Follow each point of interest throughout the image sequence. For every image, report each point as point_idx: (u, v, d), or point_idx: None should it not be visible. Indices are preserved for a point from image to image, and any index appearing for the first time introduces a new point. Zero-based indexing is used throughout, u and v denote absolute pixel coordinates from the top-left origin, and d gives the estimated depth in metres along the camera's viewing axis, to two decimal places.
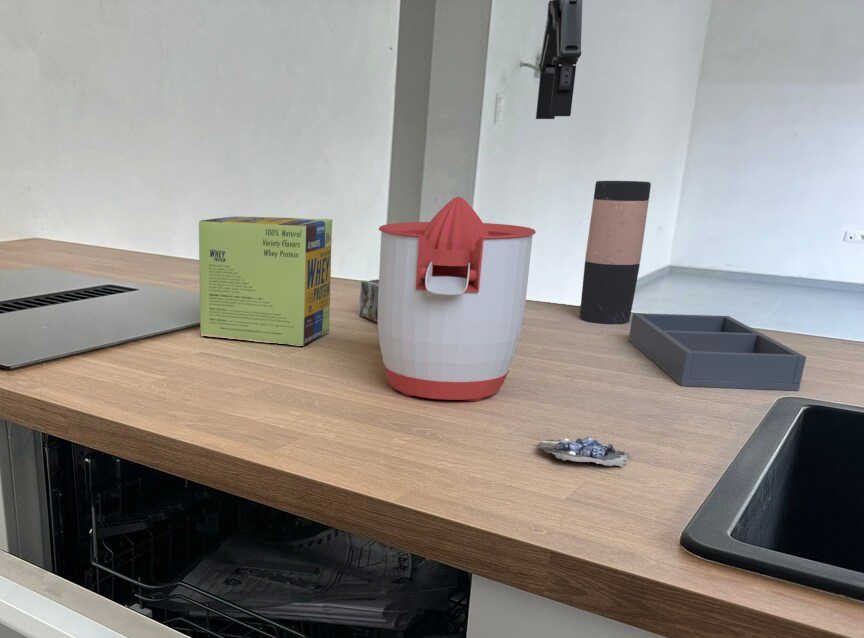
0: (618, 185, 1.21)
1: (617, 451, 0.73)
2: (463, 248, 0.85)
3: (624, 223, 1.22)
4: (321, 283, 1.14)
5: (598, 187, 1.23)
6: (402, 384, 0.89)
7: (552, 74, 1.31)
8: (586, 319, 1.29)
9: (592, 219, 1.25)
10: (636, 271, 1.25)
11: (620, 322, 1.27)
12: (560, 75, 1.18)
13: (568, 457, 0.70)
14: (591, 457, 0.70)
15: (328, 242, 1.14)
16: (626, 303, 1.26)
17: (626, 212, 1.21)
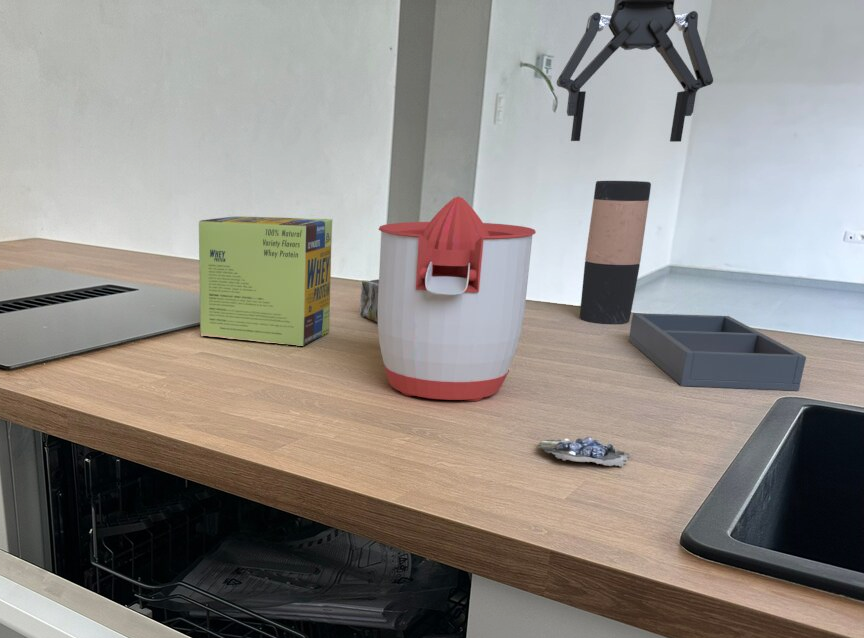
0: (618, 185, 1.21)
1: (617, 451, 0.73)
2: (463, 248, 0.85)
3: (625, 223, 1.22)
4: (321, 283, 1.14)
5: (598, 187, 1.23)
6: (402, 384, 0.89)
7: None
8: (586, 319, 1.29)
9: (592, 219, 1.25)
10: (636, 271, 1.25)
11: (620, 322, 1.27)
12: (690, 101, 1.19)
13: (568, 457, 0.70)
14: (591, 457, 0.70)
15: (328, 242, 1.14)
16: (626, 303, 1.26)
17: (627, 212, 1.21)
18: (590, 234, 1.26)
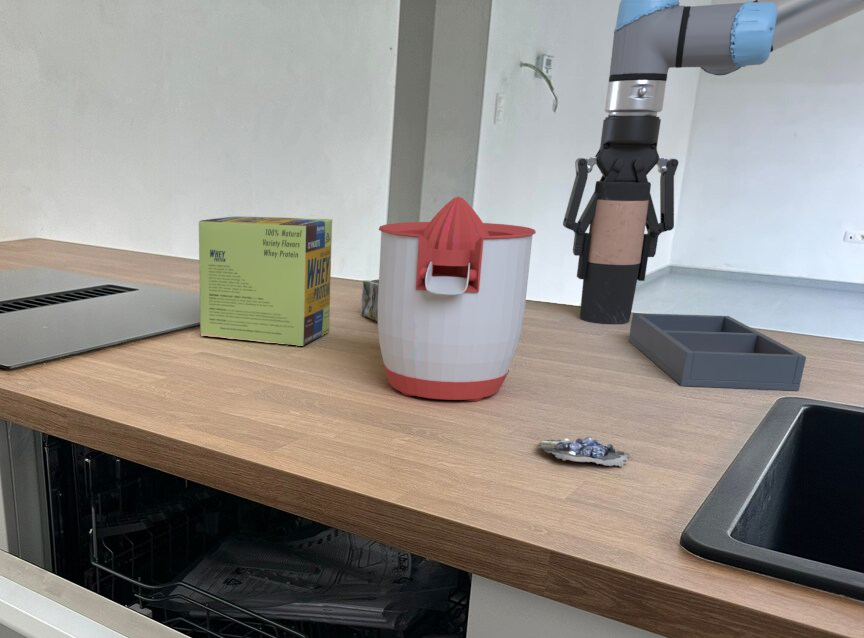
0: (618, 185, 1.21)
1: (617, 451, 0.73)
2: (463, 248, 0.85)
3: (625, 223, 1.22)
4: (321, 283, 1.14)
5: (598, 187, 1.23)
6: (402, 384, 0.89)
7: None
8: (586, 319, 1.29)
9: (592, 219, 1.25)
10: (636, 271, 1.25)
11: (620, 322, 1.27)
12: (652, 244, 1.25)
13: (568, 457, 0.70)
14: (591, 457, 0.70)
15: (328, 242, 1.14)
16: (626, 303, 1.26)
17: (627, 212, 1.21)
18: None
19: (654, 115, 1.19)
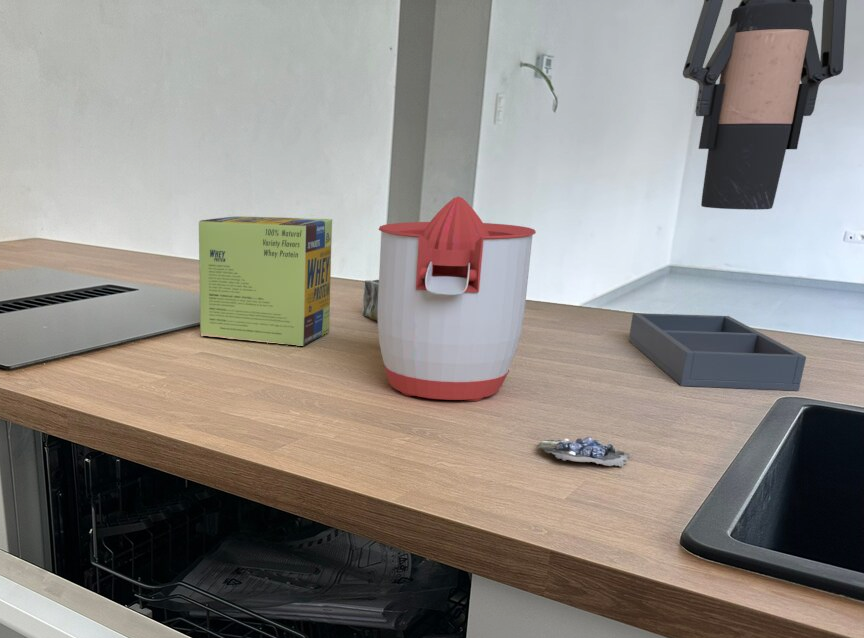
0: (770, 7, 0.86)
1: (617, 451, 0.73)
2: (463, 248, 0.85)
3: (777, 62, 0.87)
4: (321, 282, 1.14)
5: (738, 15, 0.89)
6: (402, 384, 0.89)
7: None
8: (713, 205, 0.94)
9: None
10: (787, 134, 0.91)
11: (762, 207, 0.93)
12: (810, 97, 0.91)
13: (568, 457, 0.70)
14: (591, 457, 0.70)
15: (328, 242, 1.14)
16: (772, 179, 0.92)
17: (780, 46, 0.87)
18: None
19: None
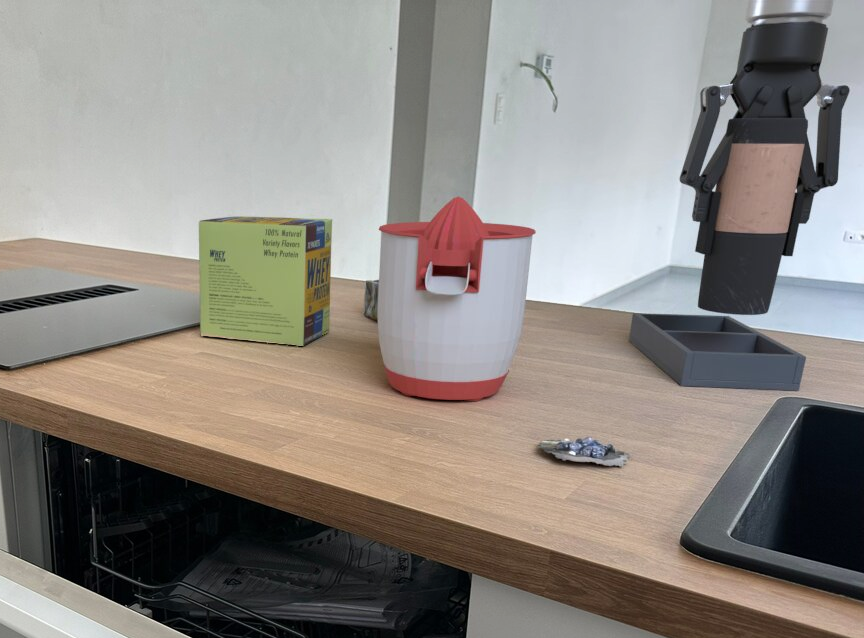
0: (766, 122, 0.87)
1: (617, 451, 0.73)
2: (463, 248, 0.85)
3: (773, 175, 0.88)
4: (321, 282, 1.14)
5: (734, 126, 0.90)
6: (402, 384, 0.89)
7: None
8: (709, 309, 0.95)
9: None
10: (783, 243, 0.92)
11: (758, 313, 0.93)
12: (805, 206, 0.91)
13: (568, 457, 0.70)
14: (591, 457, 0.70)
15: (328, 242, 1.14)
16: (768, 286, 0.92)
17: (776, 160, 0.88)
18: None
19: (820, 22, 0.85)
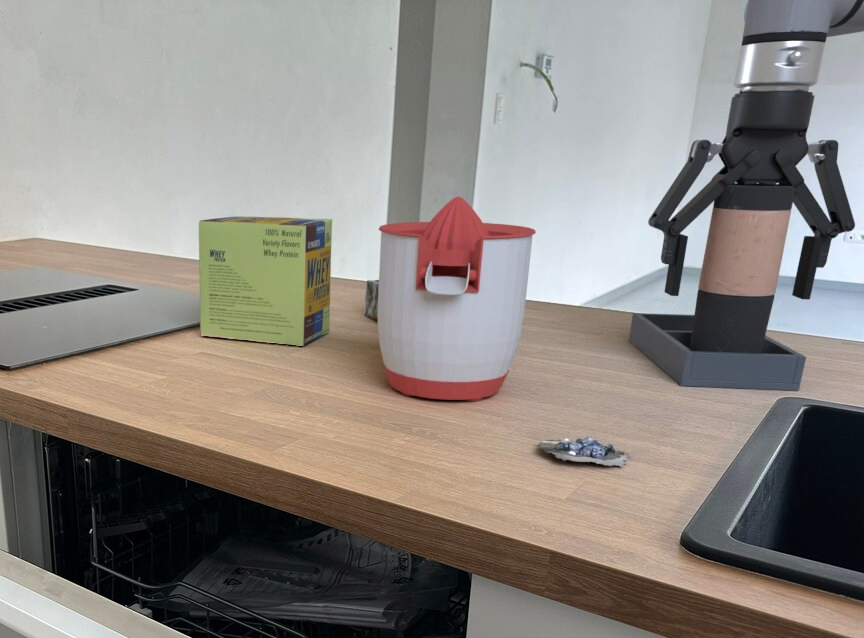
0: (753, 189, 0.89)
1: (617, 451, 0.73)
2: (463, 248, 0.85)
3: (760, 240, 0.90)
4: (321, 282, 1.14)
5: None
6: (402, 384, 0.89)
7: None
8: None
9: (712, 235, 0.94)
10: (771, 304, 0.94)
11: None
12: (823, 250, 0.93)
13: (568, 457, 0.70)
14: (591, 457, 0.70)
15: (328, 242, 1.14)
16: (756, 346, 0.95)
17: (764, 226, 0.90)
18: (708, 255, 0.95)
19: (806, 90, 0.87)
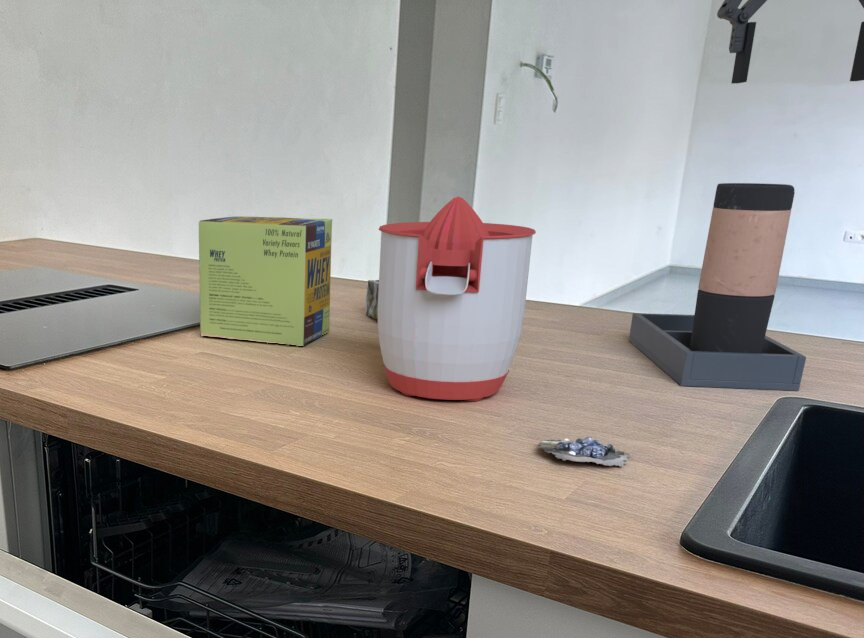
0: (753, 189, 0.89)
1: (617, 451, 0.73)
2: (463, 248, 0.85)
3: (760, 240, 0.90)
4: (321, 282, 1.14)
5: (722, 192, 0.92)
6: (402, 384, 0.89)
7: None
8: None
9: (712, 235, 0.94)
10: (771, 304, 0.94)
11: None
12: None
13: (568, 457, 0.70)
14: (591, 457, 0.70)
15: (328, 242, 1.14)
16: (756, 346, 0.95)
17: (764, 226, 0.90)
18: (708, 255, 0.95)
19: None
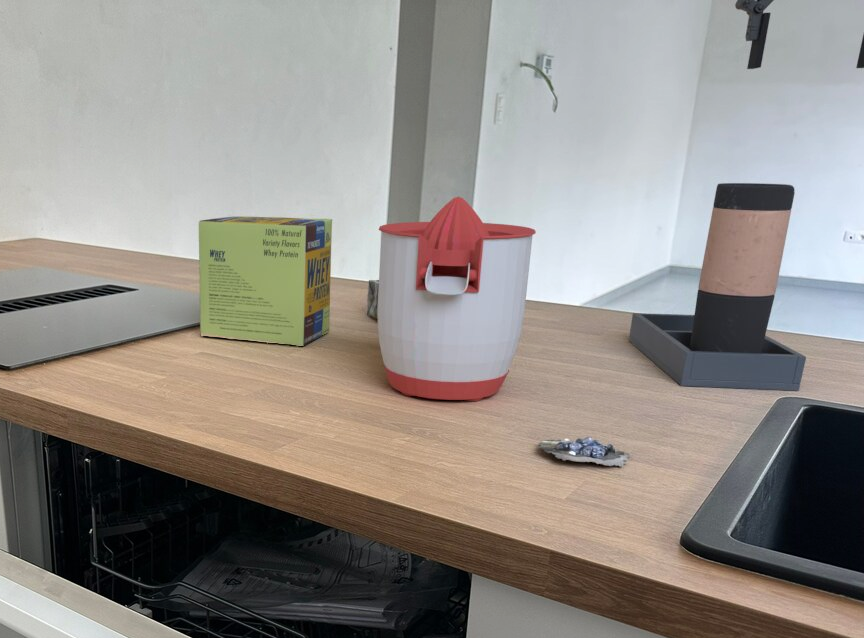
0: (753, 189, 0.89)
1: (617, 451, 0.73)
2: (463, 248, 0.85)
3: (760, 240, 0.90)
4: (321, 282, 1.14)
5: (722, 192, 0.92)
6: (402, 384, 0.89)
7: None
8: None
9: (712, 235, 0.94)
10: (771, 304, 0.94)
11: None
12: None
13: (568, 457, 0.70)
14: (591, 457, 0.70)
15: (328, 242, 1.14)
16: (756, 346, 0.95)
17: (764, 226, 0.90)
18: (708, 255, 0.95)
19: None
